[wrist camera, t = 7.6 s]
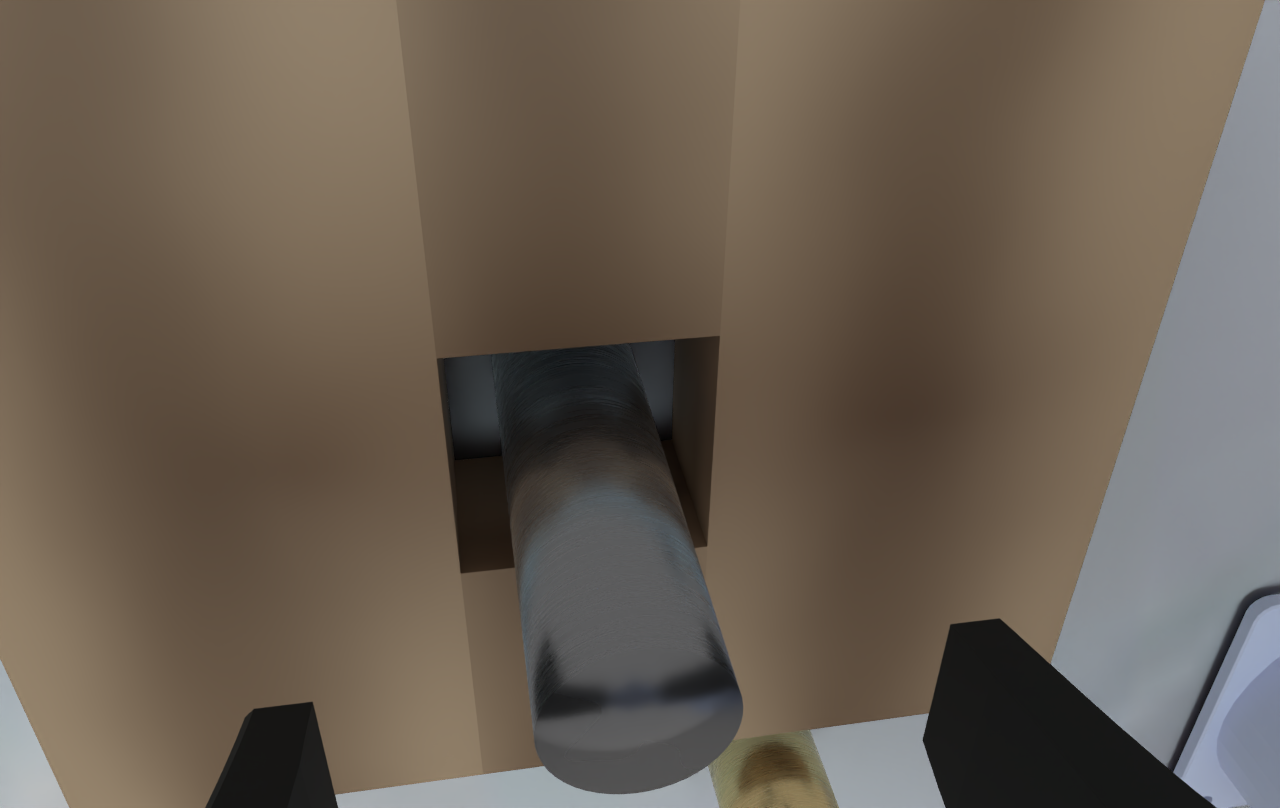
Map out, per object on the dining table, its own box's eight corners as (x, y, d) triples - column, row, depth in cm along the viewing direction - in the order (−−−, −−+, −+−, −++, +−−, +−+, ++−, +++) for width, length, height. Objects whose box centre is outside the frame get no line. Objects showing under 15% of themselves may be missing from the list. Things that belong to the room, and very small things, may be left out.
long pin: (632, 293, 18) (754, 641, 12) (626, 411, 20) (732, 781, 13) (489, 299, 18) (533, 662, 11) (493, 418, 19) (534, 804, 13)
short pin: (802, 668, 24) (862, 822, 21) (792, 737, 26) (848, 892, 23) (698, 682, 24) (743, 840, 21) (694, 751, 25) (735, 910, 22)
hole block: (1149, -93, 16) (1280, -50, 14) (975, 592, 24) (1039, 697, 22) (-177, -64, 13) (-308, -3, 11) (118, 696, 21) (79, 829, 19)
